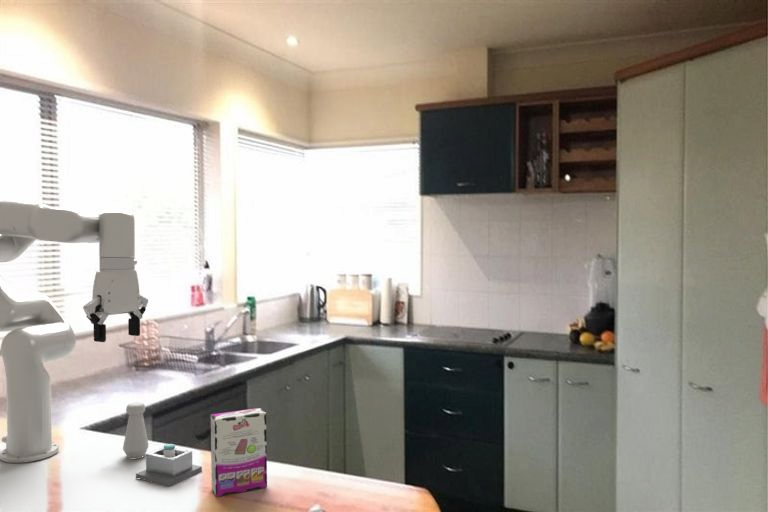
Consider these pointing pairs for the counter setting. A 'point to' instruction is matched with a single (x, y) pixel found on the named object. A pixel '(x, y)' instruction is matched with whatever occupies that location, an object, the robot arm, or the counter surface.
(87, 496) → the counter surface
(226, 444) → the candy bar box
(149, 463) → the link
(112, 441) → the counter surface
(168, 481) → the wall peg plate
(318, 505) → the counter surface
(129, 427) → the salt shaker
